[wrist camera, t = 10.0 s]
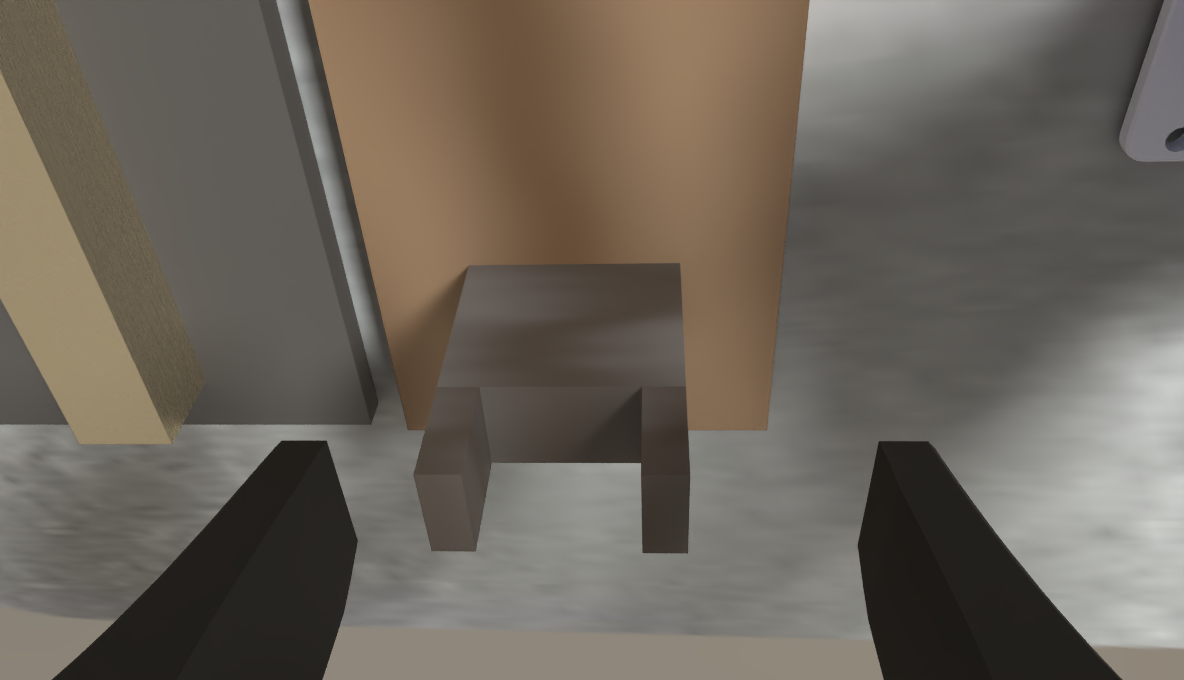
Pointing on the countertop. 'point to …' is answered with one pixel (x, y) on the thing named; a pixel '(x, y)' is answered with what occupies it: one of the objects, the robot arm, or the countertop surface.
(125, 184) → the rail
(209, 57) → the mat
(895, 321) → the countertop surface
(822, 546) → the countertop surface
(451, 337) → the rack
